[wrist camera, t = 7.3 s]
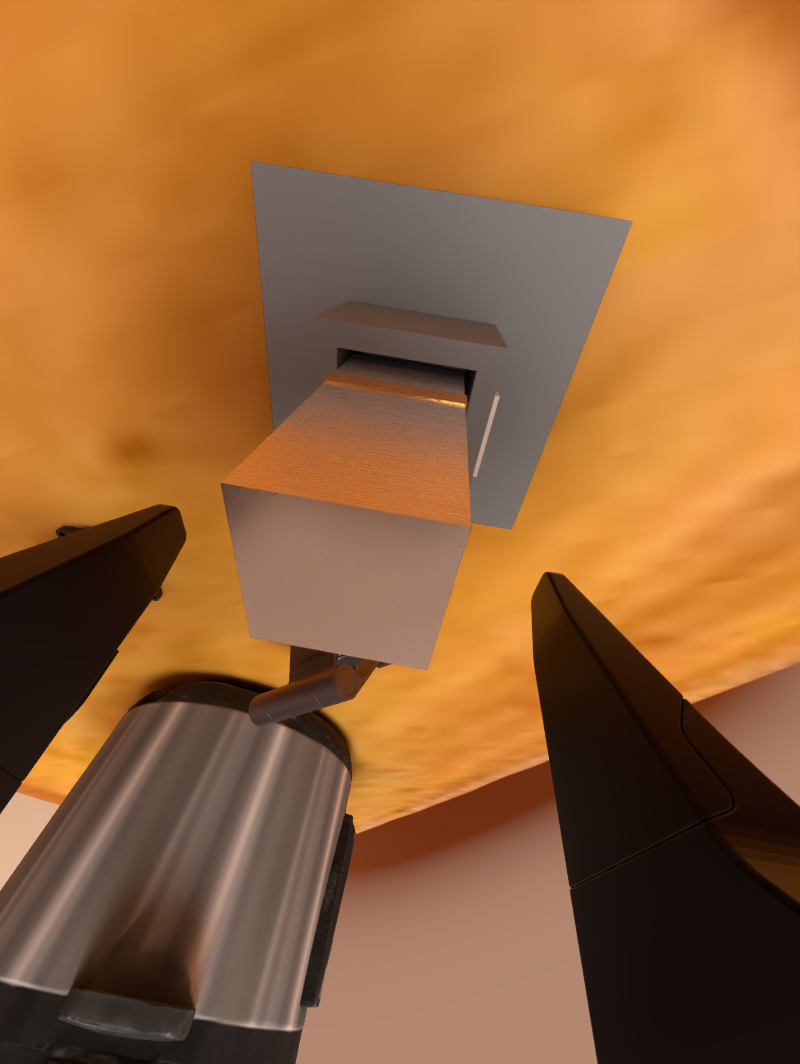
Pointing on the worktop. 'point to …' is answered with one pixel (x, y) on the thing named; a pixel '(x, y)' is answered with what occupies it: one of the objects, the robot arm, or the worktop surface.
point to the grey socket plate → (433, 303)
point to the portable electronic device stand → (312, 685)
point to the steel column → (356, 514)
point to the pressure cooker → (180, 891)
